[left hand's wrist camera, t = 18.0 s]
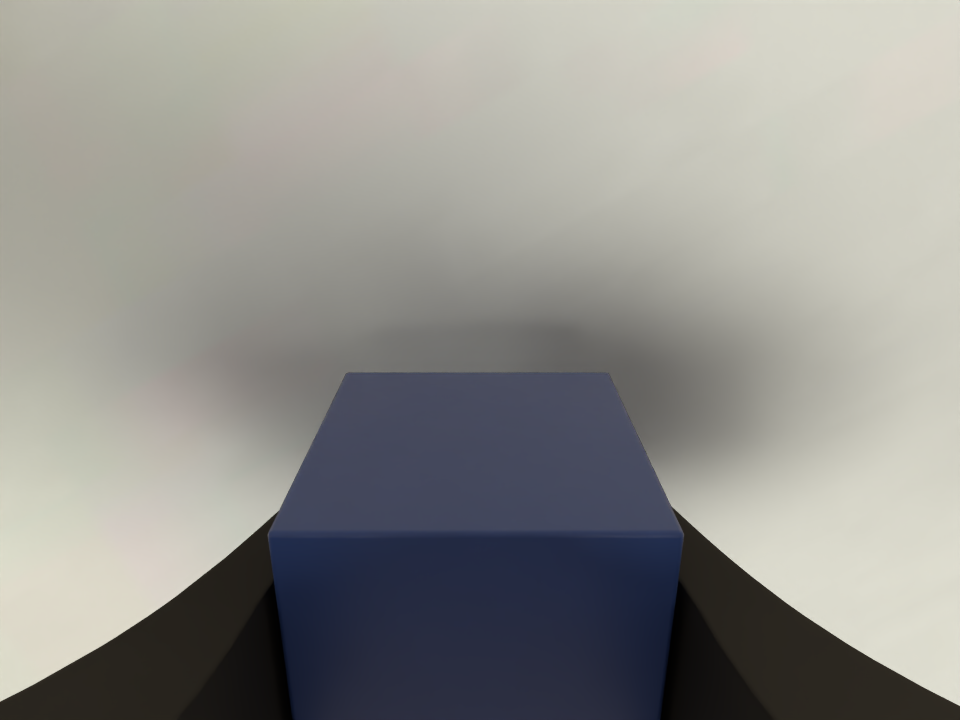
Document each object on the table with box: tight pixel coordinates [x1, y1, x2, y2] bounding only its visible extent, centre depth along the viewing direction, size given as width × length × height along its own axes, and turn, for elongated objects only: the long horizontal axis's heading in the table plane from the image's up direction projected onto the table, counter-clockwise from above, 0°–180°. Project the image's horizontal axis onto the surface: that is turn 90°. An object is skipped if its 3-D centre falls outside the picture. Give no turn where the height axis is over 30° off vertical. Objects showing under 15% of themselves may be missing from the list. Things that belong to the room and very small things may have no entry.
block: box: [268, 373, 684, 720], centre depth 10 cm, size 5×4×5 cm
